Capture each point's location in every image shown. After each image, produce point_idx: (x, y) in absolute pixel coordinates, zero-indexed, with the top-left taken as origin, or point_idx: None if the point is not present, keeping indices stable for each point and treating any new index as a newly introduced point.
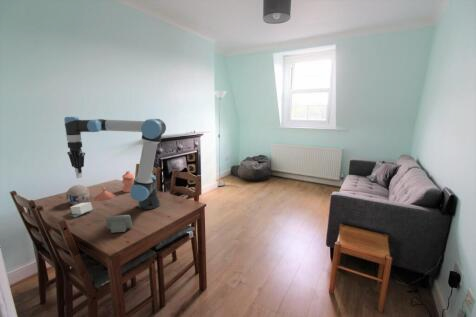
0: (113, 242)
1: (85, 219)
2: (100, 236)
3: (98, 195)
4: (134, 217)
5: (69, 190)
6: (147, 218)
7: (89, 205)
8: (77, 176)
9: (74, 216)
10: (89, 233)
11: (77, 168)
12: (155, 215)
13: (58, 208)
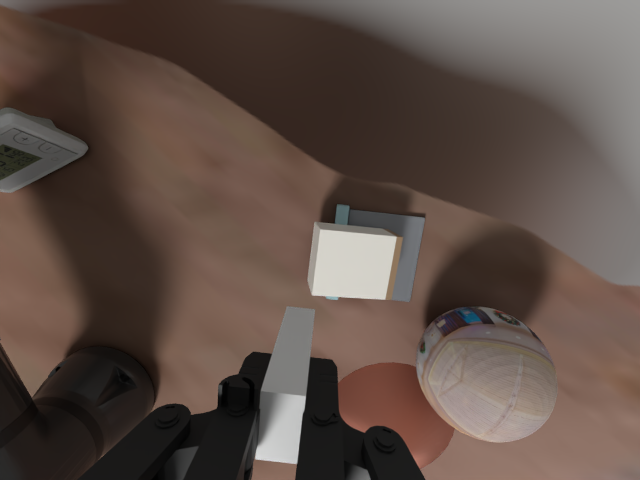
0: None
1: (275, 201)
2: (64, 79)
3: (410, 421)
4: (78, 271)
5: (524, 355)
6: (17, 275)
7: (311, 278)
8: (292, 317)
9: (342, 205)
10: (133, 89)
11: (260, 398)
12: (8, 309)
13: (522, 274)
